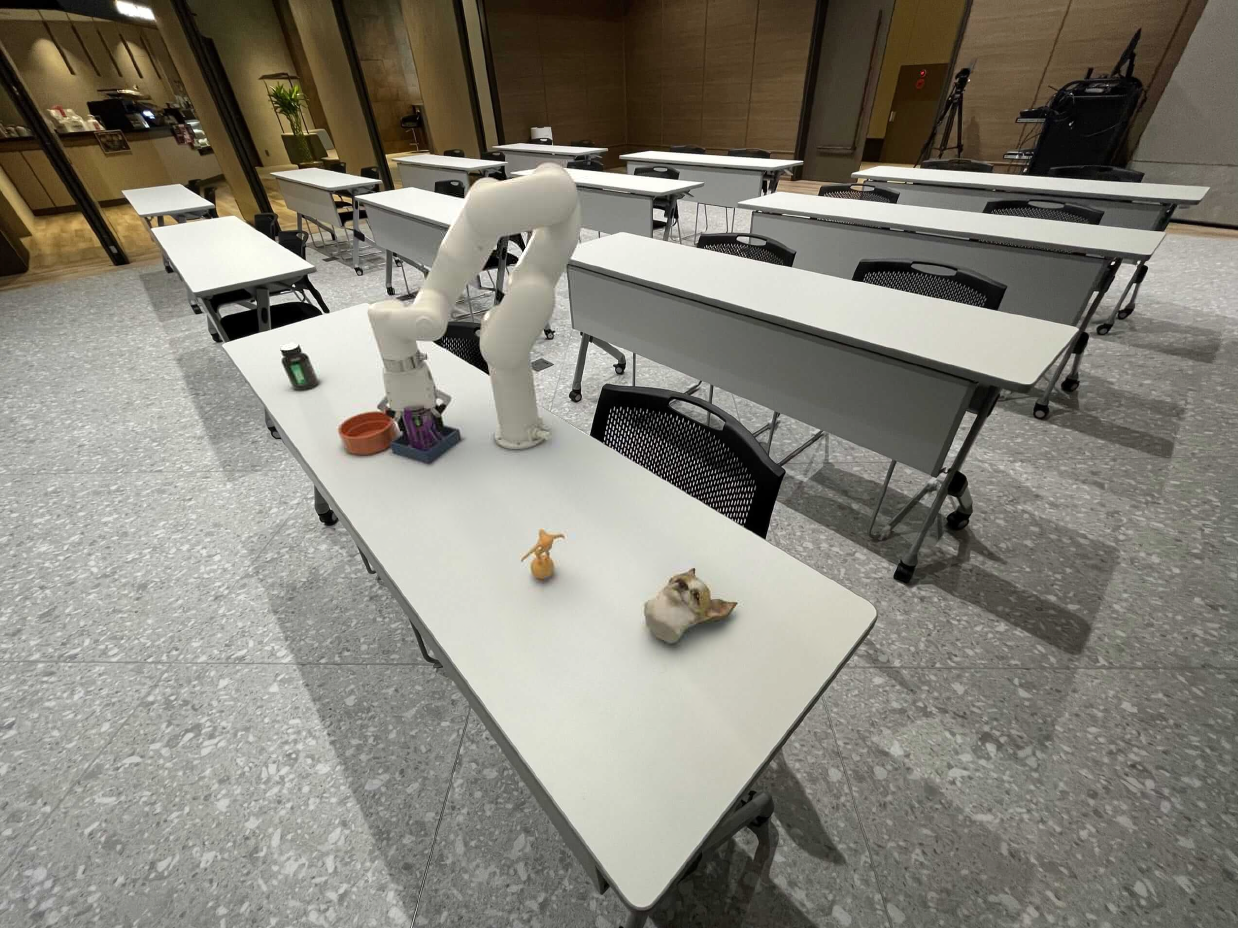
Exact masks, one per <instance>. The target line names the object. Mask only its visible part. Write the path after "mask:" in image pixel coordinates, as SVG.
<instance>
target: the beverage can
mask: <svg viewBox="0 0 1238 928" xmlns="http://www.w3.org/2000/svg"><path fill="white" fill-rule="evenodd" d="M403 409H404V411H402V413H401V415H402V418H403V422H404V425H405V428H406V431H407V434H408V437H409V440H410V443H409V444H410V447H412V448H415V449H418V450H421V451H425V452H427V451H428V450H429V449H431V448H432V447H433V446H435V445H436V444H437V443H439V442H440V441H441V440H443V436H442V435H441V433H440V432H437V430H436V426H435V423H434V414H433V413H432V412H431V410H430V409H425V408H424V406H420V407H417V408H403Z"/></svg>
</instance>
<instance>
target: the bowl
mask: <svg viewBox="0 0 1238 928" xmlns="http://www.w3.org/2000/svg"><path fill="white" fill-rule="evenodd" d="M395 422H396V421H394V419H393V418H391V417H389V416H387V415H386V413H384V412H382V411H381V410H379V411H378V410H374V411H366V412H362V413H358V414H355V415H353V416H351V417H349V418H347V419H345V420H344V421H343V422H342V423H340V425H339V426H338V428H337V431H338V435H339V438H340V440H341V443H342V444H343V447H344V449H345V451H347V452H348V453H350V454H353V455H360V456H366V455H367V456H368V455H372V454H376V453H379V452H382V451H384V450H386V449H389V448H391V445H390V442H391V441H393V440H394V439H396V438H397V437H399V436H400V435H399V432H398V429H397V426H396V423H395Z"/></svg>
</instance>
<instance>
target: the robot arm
mask: <svg viewBox="0 0 1238 928" xmlns="http://www.w3.org/2000/svg"><path fill="white" fill-rule="evenodd" d="M530 231H533V232H532V234H531V236H530V239H529V241H528V242H527V244H526V247H525V248H524V250H523V251H522V253H521V255H520V257H519V258H518V261H517V262H516V264H515V266H513V268H512V271H511V272H510V273H509V275H508V276H507V279H506V283H505V293H504V296H503V298H502V300H501V301H500V303H499V304H497V305H494V306H492V307H491V308H489V309H487V311H486V312H485V314H484V315H483V318H482V320H481V324H480V331H479V332H480V333H479V350H480V353H481V356H482V357H483V360H484V361H485V362H486V364H487V367H488V372H489V379H490V384H491V389H492V394H493V401H494V406H495V411H496V415H497V421H498V427H497V428H496V429H495V431H494V440H495V442H496V444H498V445H499V446H500V447H503V448H505V449H509V450H523V449H524V450H525V449H529V448H532V447H534V446H536V445H538V444H540V443H541V442H543V441H544V440H546V441H550V440H551V439H552V432H553V427H551V426H547V425H546V424H545V423H544V419H543V417H539V411H538V404H537V403H538V402H537V396H536V388H535V382H534V381H535V380H534V373H533V365H532V356H531V351H532V350H533V348H534V346H535V345H536V343H537V342H538V340H539V339H540V337H541V336H542V333H543V332H544V330H545V329H546V327H547V325H548V323H549V322H550V320H551V318H552V316H553V314H554V311H555V308H556V302H557V301H556V300H557V299H556V291H555V289H556V286H557V284H558V282H559V280H560V279H561V277H562V276H563V273H564V271H565V270H566V268H567V266H568V264H569V262H570V260H571V258H572V257H573V254H574V253H575V251H576V249H577V245H578V244H579V240H580V236H581V231H582V208H581V202H580V198H579V192H578V188H577V184H576V182H575V181H574V179H573V177H572V176H571V174H570V173H569V172H568V171H567V170H566V169H565V168H564V167H563V166H561V165H560V164H557V163H555V162H545V163H542V164H540V165H538V166H537V167H536V168H535V169H534V170H533V171H532V173H530V174H525V175H521V176H518V177H513V178H510V179H505V180H498V179H496V178H494V177H482V178H479V179H478V180H476V181H474V183H473V184H472V185H471V187H470V188H469V190H468V191H467V193H466V196H465V197H464V199H463V201H462V203H461V205H460V207H459V209H458V211H457V213H456V215H455V217H454V218H453V220H452V223H451V225H450V226H449V228H448V229H447V232H446V234H445V236H444V238H443V239H442V242H441V243H440V245H439V248H438V250H437V254H436V257H435V260H434V262H433V265H432V266H431V269H430V270H429V272H428V274H427V276H426V278H425V280H424V281H423V284H422V285H421V287H420V289H419V291H418V292H417V295H416V296H415V298H414V300H413V302H412V304H411V305H409V306H406V304H404V302H402V301H400V300H396V299H386V300H381V301H377V302H375V303H372V304H370V306H369V307H368V308H367V317H368V321H369V323H370V327H371V330H372V332H373V336H374V339H375V343H376V345H377V348H378V352H379V354H380V358H381V360H382V364H383V367H382V380H383V386H384V390H385V396H383V398H382V399H381V400H380V401H379V402H378V403H377V406H376V409H378V410H379V411H380V412H384V413H386V415H387V416H389V417H391V418H393V420H394V422H396V424H397V427H398V430H399V432H401V434H403V436H407V431H406V428H405V425H404V422H403V418H402V415H401V413H402V411H404V409H403V408H417V407H420V406H424V408H425V409H430V410H431V412H432V413H433V414H434V423H435V426H436V430H437V432H441V427H443V425H445V423H444V419H443V416H442V415H443V413H444V412H445V411H446V409H447V407H448V406H449V404H450V403H451V401H452V397H451V396H450V395H449V394H447V393H445V392H443V391H441V390H440V389H438V387H437V386H436V383H435V379H434V377H433V375H432V372H431V370H430V368H429V365H428V364H427V362H426V361H427V360H428V354H427V353H423V352H421V351H420V349H419V347H418V343H417V341H418V342H435V341H437V340H440V339H441V338H442V337H443V336H444V335H445V333H446V331H447V330H448V329H447V328H448V325H449V320H450V317H451V315H452V312H453V310H454V308H455V306H456V304H457V303H458V301H459V299H460V298H461V296H462V294H463V292H464V290H465V289H466V287H467V286H468V284H469V283H470V282H471V281H472V280H473V279H474V278H476V277H478V276H479V275H480V274H481V272H482V271H483V269H484V268H485V266H486V263H487V262H488V260H489V258H490V256H491V254H492V253H493V252H494V250H495V247H496V246H497V244H498V243H499V241H500V239H501V238H502V237H507V236H513V235H518V234H521V233H526V232H530ZM437 399H440V400H442V402H441V403H440V404H438V403H437Z"/></svg>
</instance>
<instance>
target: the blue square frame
mask: <svg viewBox="0 0 1238 928" xmlns="http://www.w3.org/2000/svg"><path fill="white" fill-rule="evenodd" d="M440 433H441V437H444V438H442V440H441V441H440V442H439V443H437V444H436V445H435V446H433V447H432V448H431V449H429V450H428V451H427V452H425V451H421V450H418V449H415V448H412V447H411V446H408V445H410V444H411V443H410V440H409V437H408V434H407V436H403V433H401V434H400V435H398V437H397V438H396V439H394V440H393V441H391V442H390V445H391V446H390V448H391V451H392V454H395V455H398V456H401V457H404V458H408V459H411V460H414V461H417V462H420V463H424V464H427V465H430V464H432V463H433V462H435V461H436V460H437V459H439V458H440V457H441V456H443V455H444V454H445V453H446V452H448V451H449V450H450V449H451V448H453V447H454V446H456V444H458V443H459V442H460V441H462V435H461V432H460V428H456V427H452V426H449V425H445V424H444V425H443V427H441V432H440Z"/></svg>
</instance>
